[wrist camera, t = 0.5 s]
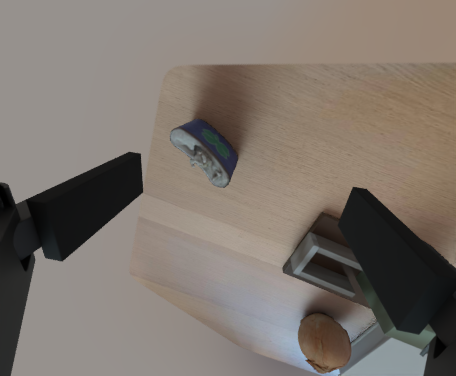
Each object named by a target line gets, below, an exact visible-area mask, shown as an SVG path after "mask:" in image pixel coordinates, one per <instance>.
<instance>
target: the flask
mask: <svg viewBox="0 0 456 376" xmlns="http://www.w3.org/2000/svg"><path fill="white" fill-rule="evenodd" d="M170 141H171V142H172V144H173V145H174V146H175V147H177V148H178V149H180V150H181V151H182V152H184V153H185V154H187V155H188V156H189V157H190V158H191V159H190V163H191V165H192V167H195V166H194V163H196V164H197V165H198V166H199V167H200V168H201V169H202V170H203V171H204V172H205V173H206V175H207V177H208V178H209V180H210V181H211V182H212V184H213V185H215V186H217V187H223V188H225V187H226V186H227V185H228V184H229V182H230V180H231V177H232V174H233V172H234V170H235V167H236V164H237V161H238V155H237V154H236V151H235V150H234V149H233V147H232V146H231V144H229V142H228V141H227V140H226V139H225V138H224V137H223V136H222V135H221V134H220V133H219V132H218V131H216V130H215V129H214V128H213V127H212V126H211V125H209V124H208V123H207V122H205V121H203V120H201V119H194V120H193V121H191V122H188V123H186V124H184V125H182V126H179V127H177V128H175V129H173V130H172V131H171V134H170Z"/></svg>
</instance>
